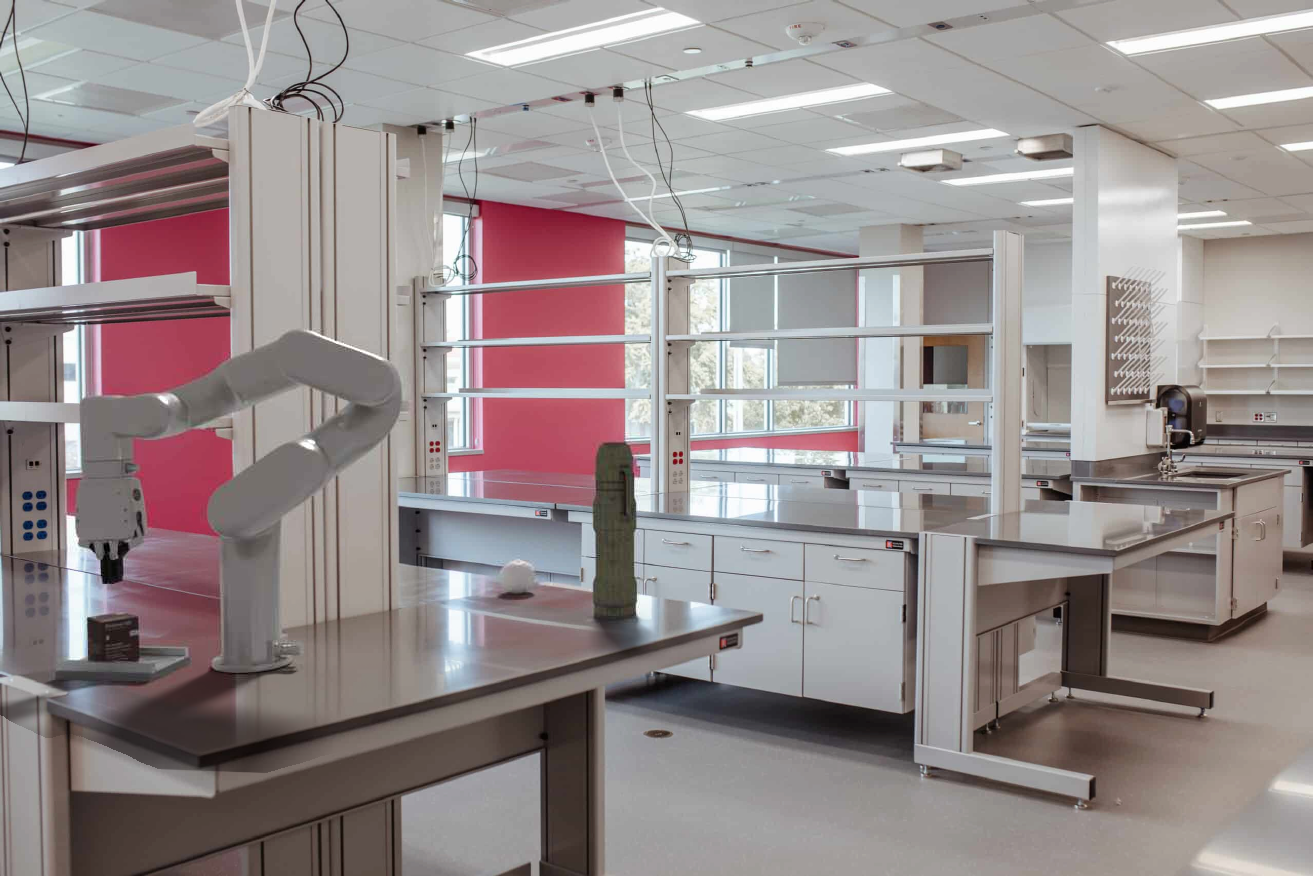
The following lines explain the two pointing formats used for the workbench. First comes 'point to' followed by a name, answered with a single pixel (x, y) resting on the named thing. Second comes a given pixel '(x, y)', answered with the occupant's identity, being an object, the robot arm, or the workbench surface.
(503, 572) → the white ball
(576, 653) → the workbench surface
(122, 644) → the box
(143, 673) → the panel
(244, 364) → the robot arm
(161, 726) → the workbench surface
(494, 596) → the workbench surface
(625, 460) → the thermos
